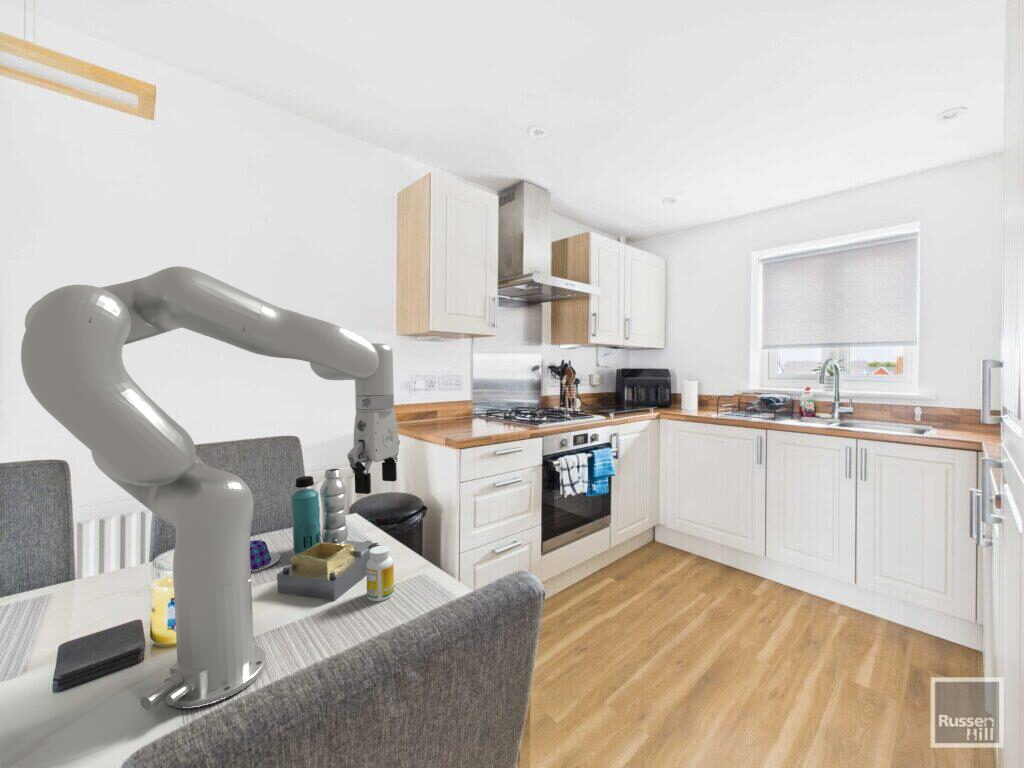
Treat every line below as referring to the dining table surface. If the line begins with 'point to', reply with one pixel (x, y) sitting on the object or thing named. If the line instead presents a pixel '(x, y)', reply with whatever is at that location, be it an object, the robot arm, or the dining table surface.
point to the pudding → (261, 555)
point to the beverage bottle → (305, 515)
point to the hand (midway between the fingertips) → (376, 486)
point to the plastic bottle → (333, 507)
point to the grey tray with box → (326, 569)
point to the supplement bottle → (380, 574)
